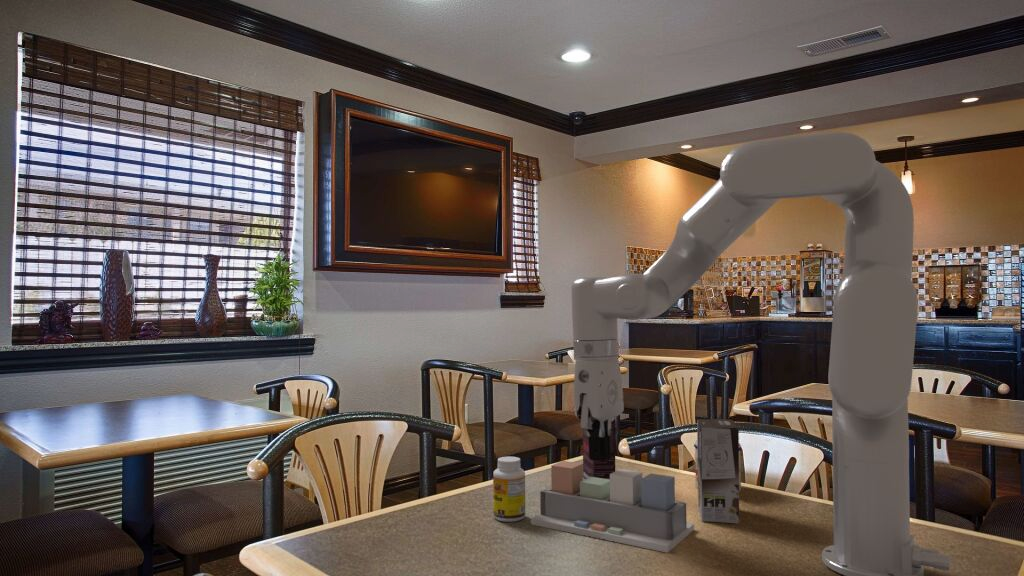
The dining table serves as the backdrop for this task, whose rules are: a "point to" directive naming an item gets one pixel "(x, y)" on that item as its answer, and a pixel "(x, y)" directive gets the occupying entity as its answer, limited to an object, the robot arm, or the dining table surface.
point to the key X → (626, 487)
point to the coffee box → (718, 470)
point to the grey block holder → (614, 520)
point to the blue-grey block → (658, 492)
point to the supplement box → (598, 467)
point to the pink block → (566, 477)
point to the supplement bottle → (509, 490)
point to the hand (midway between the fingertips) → (600, 459)
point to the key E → (595, 488)
